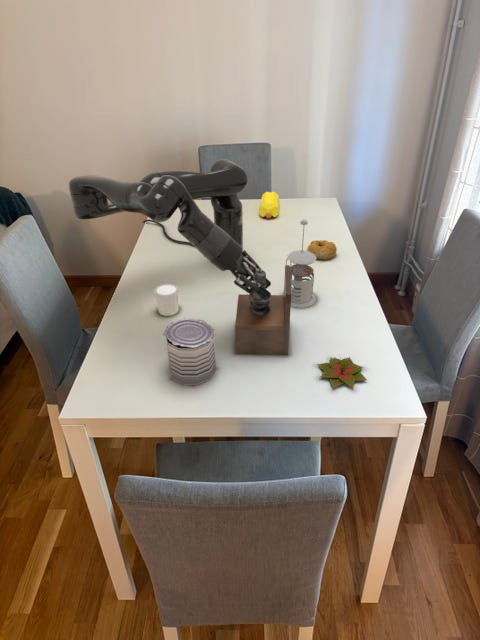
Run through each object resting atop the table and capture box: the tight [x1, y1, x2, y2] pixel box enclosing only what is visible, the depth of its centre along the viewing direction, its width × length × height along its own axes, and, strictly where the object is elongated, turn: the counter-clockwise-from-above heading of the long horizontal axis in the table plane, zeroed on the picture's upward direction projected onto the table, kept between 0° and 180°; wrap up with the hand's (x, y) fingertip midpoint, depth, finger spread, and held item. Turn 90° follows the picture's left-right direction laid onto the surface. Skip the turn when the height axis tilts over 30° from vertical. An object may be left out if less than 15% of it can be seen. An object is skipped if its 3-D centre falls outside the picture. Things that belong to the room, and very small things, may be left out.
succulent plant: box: [316, 354, 368, 389], centre depth 115 cm, size 12×12×5 cm
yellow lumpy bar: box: [258, 191, 280, 219], centre depth 196 cm, size 18×7×8 cm
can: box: [162, 317, 217, 386], centre depth 115 cm, size 11×11×12 cm
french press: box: [285, 218, 317, 309], centre depth 138 cm, size 10×12×25 cm
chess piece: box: [248, 267, 271, 315], centre depth 120 cm, size 6×6×12 cm
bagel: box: [306, 239, 338, 261], centre depth 166 cm, size 10×11×5 cm
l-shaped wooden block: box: [234, 264, 292, 356], centre depth 123 cm, size 13×14×18 cm
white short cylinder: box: [153, 283, 180, 317], centre depth 138 cm, size 7×7×7 cm
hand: (268, 291), depth 120 cm, fingers open, 4 cm apart
